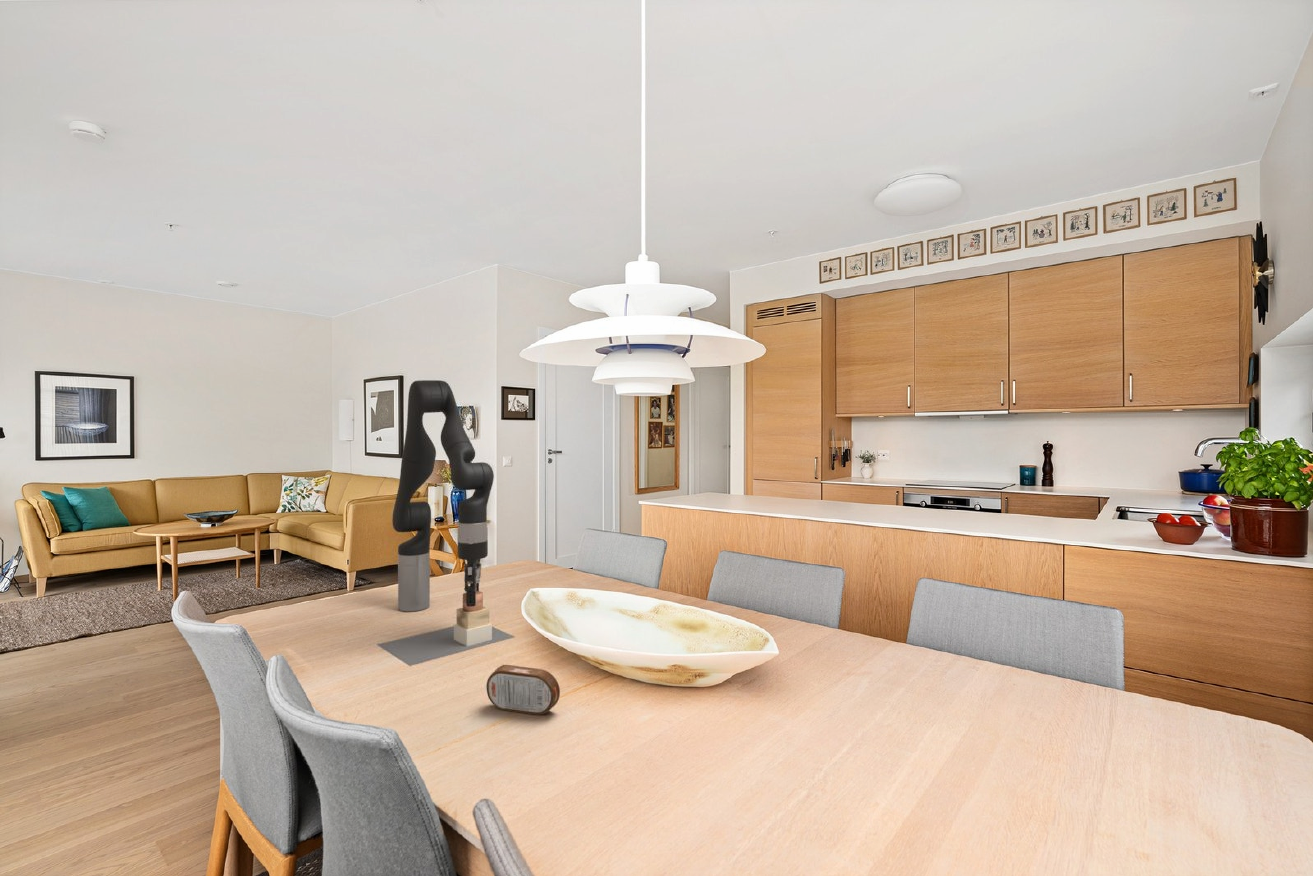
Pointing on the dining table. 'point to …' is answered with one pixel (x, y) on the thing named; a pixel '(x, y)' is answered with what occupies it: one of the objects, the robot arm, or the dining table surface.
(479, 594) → the terracotta cylinder
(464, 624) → the tower top block
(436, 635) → the mat
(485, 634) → the tower base block
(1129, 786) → the dining table surface
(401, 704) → the dining table surface
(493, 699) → the tin
